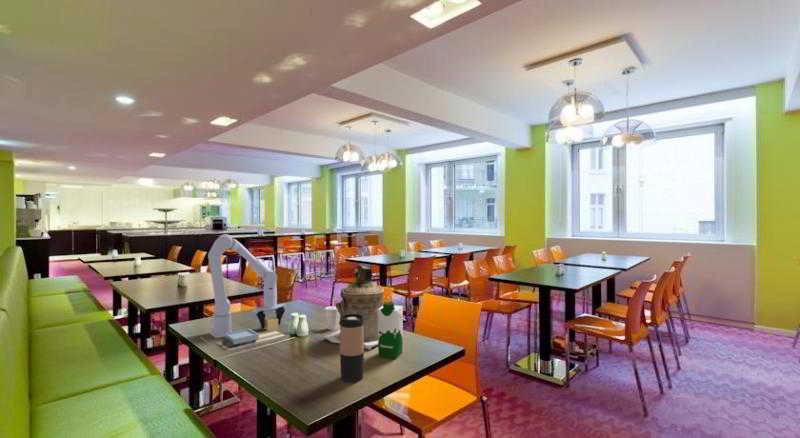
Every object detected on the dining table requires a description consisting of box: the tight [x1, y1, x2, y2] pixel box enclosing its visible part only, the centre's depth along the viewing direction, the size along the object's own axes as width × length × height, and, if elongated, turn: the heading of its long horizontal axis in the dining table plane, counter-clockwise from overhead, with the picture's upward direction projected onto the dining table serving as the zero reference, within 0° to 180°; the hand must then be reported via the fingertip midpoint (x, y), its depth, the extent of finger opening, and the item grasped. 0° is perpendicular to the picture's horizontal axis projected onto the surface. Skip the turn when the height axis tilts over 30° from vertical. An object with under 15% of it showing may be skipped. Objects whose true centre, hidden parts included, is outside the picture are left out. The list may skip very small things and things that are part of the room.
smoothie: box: [324, 298, 339, 331], centre depth 181 cm, size 6×6×14 cm
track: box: [216, 329, 288, 352], centre depth 165 cm, size 13×25×2 cm, turn 133°
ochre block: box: [262, 316, 279, 331], centre depth 181 cm, size 5×5×5 cm
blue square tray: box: [224, 328, 259, 347], centre depth 162 cm, size 10×10×3 cm
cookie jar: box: [322, 264, 385, 351], centre depth 168 cm, size 25×25×32 cm
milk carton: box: [377, 301, 404, 360], centre depth 148 cm, size 9×9×20 cm
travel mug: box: [339, 314, 365, 384], centre depth 127 cm, size 8×8×20 cm
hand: (270, 326), depth 181 cm, fingers open, 7 cm apart
